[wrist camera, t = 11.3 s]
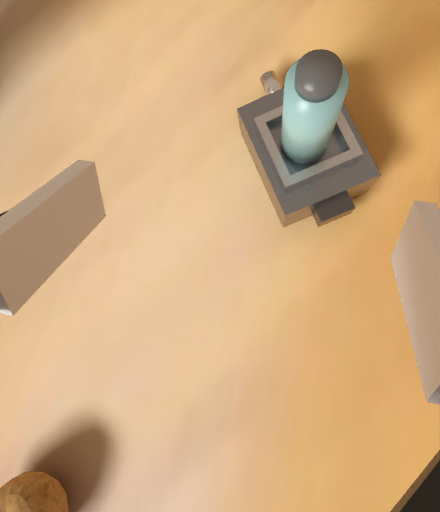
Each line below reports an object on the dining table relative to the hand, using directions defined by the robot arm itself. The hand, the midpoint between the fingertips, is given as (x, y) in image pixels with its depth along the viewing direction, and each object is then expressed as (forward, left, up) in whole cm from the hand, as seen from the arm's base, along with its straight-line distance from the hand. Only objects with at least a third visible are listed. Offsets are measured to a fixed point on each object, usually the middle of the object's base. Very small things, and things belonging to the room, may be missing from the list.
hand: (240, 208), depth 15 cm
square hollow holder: (-11, +10, -30) cm, 33 cm away
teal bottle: (-11, +10, -24) cm, 28 cm away
